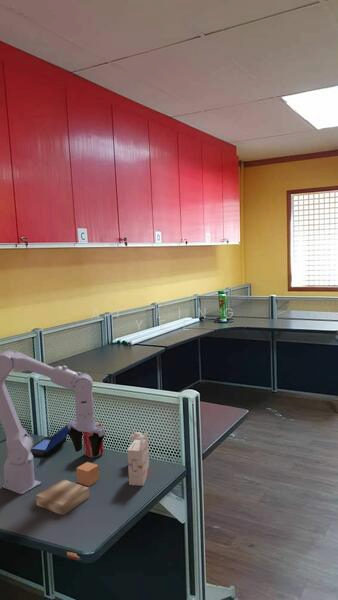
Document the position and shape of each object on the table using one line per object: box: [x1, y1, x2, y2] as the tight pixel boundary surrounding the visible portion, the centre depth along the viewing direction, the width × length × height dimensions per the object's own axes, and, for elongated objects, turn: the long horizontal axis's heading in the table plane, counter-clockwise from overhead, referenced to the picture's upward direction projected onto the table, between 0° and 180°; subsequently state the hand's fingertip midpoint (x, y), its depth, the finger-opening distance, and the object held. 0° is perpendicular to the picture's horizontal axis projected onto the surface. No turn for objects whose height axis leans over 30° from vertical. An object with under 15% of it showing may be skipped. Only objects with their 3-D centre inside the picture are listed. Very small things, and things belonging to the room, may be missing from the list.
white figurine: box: [129, 428, 144, 443], centre depth 161 cm, size 9×4×12 cm, turn 36°
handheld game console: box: [31, 424, 70, 458], centre depth 176 cm, size 16×13×9 cm
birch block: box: [35, 479, 90, 516], centre depth 137 cm, size 11×11×4 cm
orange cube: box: [76, 461, 100, 487], centre depth 149 cm, size 5×5×5 cm
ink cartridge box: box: [126, 431, 150, 487], centre depth 149 cm, size 9×5×15 cm, turn 168°
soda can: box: [82, 419, 104, 458], centre depth 169 cm, size 7×7×12 cm
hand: (87, 453), depth 149 cm, fingers open, 7 cm apart
